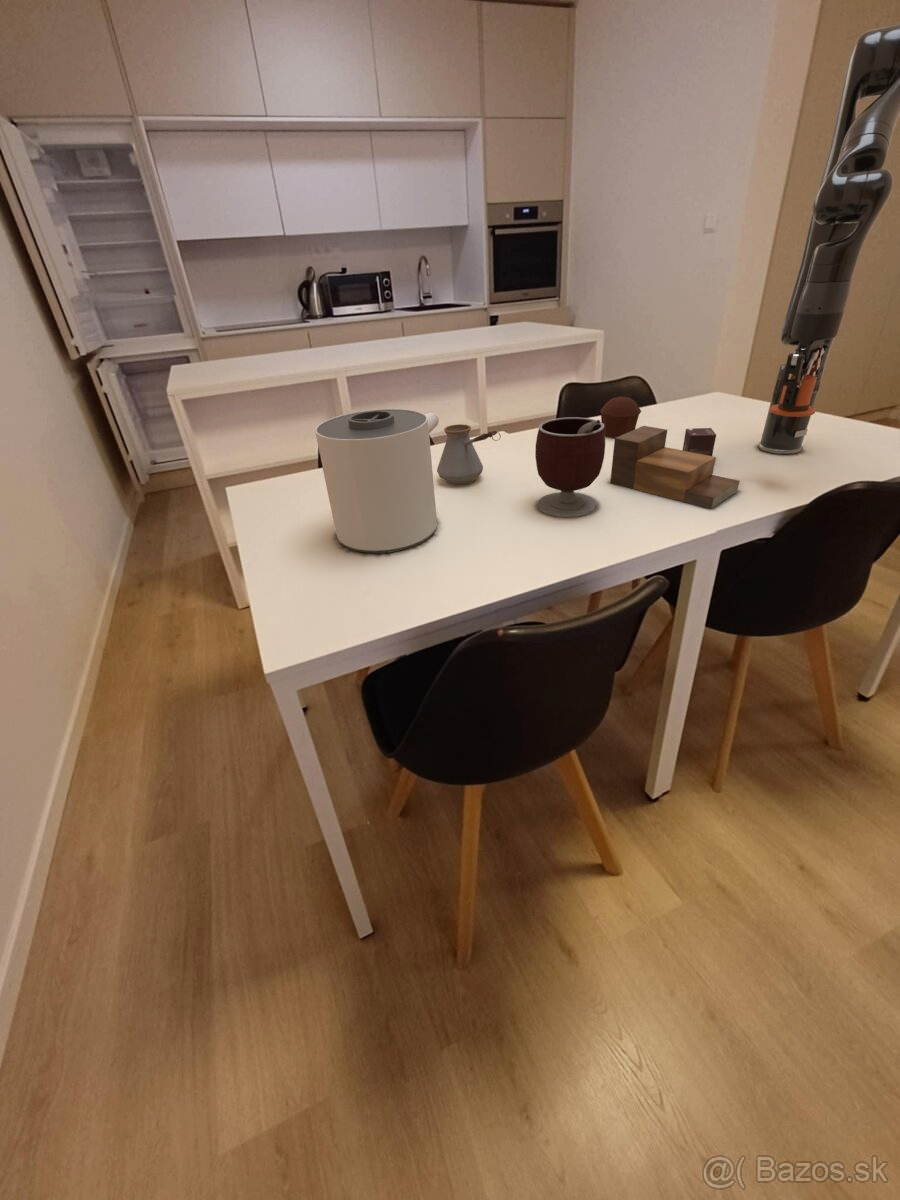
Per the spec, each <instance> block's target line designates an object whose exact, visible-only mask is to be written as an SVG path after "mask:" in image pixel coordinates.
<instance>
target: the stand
mask: <svg viewBox="0 0 900 1200" xmlns="http://www.w3.org/2000/svg"><path fill="white" fill-rule="evenodd" d="M667 435H668V429H666V428H659V427H654V426H649V425H642V426H639V427H637V428H635V430H633V431H630V432H628V433H626V434H623V435H621V436H619V437H616V438H614V441H613V450H612V451H613V452H612V462H611V471H610V479H609V480H610V482H609V483H610V484H613V485H616V486H617V485H618V486H621V487H624V488H629V489H633V490H637V491H640V492H644V493H648V494H652V495H655V496H660V497H663V498H667V499H672V500H675V501H678V502H683V503H687V504H690V505H694V506H698V507H702V508H706V509H709V510H712V509H714V508H715V507H717V506H718V505H720V504H721V503H723V502H724V501H725V500H727V499H728V498H730V497H732V496H733V495H735V494H736V493H737V492H738V491H739V487H740V482H741V480H739V479H734V478H729V477H725V476H720V475H716V474H713V473H714V470H715V469H714V468H715V464H716V459H717V457H716V456H713V455H712V456H708V455H703V454H698V453H693V452H687V451H682V450H683V449H677V448H671V447H666V443H667V442H666V441H667Z"/></svg>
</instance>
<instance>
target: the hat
mask: <svg viewBox="0 0 900 1200" xmlns="http://www.w3.org/2000/svg"><path fill="white" fill-rule="evenodd" d="M793 380H795V376H793ZM816 380H817V377H816V376H813V375H808V376H806V377H804V380H803V382H802V386H801V387H800V391H799V394H798V398H797V401H796V405H795V407H793V408H786V407H783V406H782V403H783V399H784V396H785V392H786V388H787V387H785V386H784V388H783V391H782V395H781V399H780V402H779V404H776V405H773V406H771V407H770V406H769V407H770V412H772V413H774V414H777V415H782V416H791V417H802V416H810V415H811V416H813V415H814V414H816V408H815V407H811V406H809V405H810V400H811V396H812V393H813V390H814V386H815V383H816Z"/></svg>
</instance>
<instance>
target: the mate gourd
mask: <svg viewBox="0 0 900 1200" xmlns="http://www.w3.org/2000/svg"><path fill="white" fill-rule="evenodd" d="M605 452H606V436H605V432H604V424H603V423H602V422H601V420H600V419H594V418H588V417H578V416H575V417H574V416H573V417H572V416H570V417H569V416H568V417H558V418H553V419H548V420H546V421H542V422H541V423H540V424H539V425H538V429H537V435H536V440H535V451H534V453H535V455H534V456H535V462H536V463H535V464H536V465H535V466H536V470H537V474H538V476H539V478H540V479H541V480H542V482H543V483H544V484H545V486H546V487H548V488H551V489H554V490H558V491H559V492H552V493H549V494H546V495H544V496H542V497H541V498H540V499H539V500H538V502H537V506H538V507H537V508H538V509H539V511H541V512H542V513H543V514H545V515H548V516H552V517H555V518H556V517H557V518H579V517H583V516H587V515H589V514H591V513H592V512H594V511H595V510H596V506H597V502H596V500H595V499H594V498H593V497H591V496H590V495H587V494H585V493H580V492H575V491H578V490H583V489H585V488H588V487H590V486H591V485H592V484H593V482H594V481H596V479H597V478H598V477H599V475H600V473H601V472H602V468H603V464H604V460H605Z"/></svg>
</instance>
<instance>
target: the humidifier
mask: <svg viewBox="0 0 900 1200" xmlns="http://www.w3.org/2000/svg"><path fill="white" fill-rule="evenodd" d="M439 422H440V420H439V417H438V415H437V414H436V413H434V412H428V413H426V414H425V413H423V412H421V411H418V410H414V409H413V410H412V409H407V408H406V409H405V408H379V409H378V408H377V409H367V410H361V411H355V412H350V413H343V414H340V415H338V416H334V417H332V418H328V419H326V420H324V421H322V422H320V423H319V424H318V425H317V426H316V427H315V429H314V433H315V438H316V442H317V448H318V453H319V457H320V462H321V467H322V472H323V475H324V476H323V477H324V481H325V485H326V492H327V495H328V501H329V505H330V510H331V515H332V519H333V525H334V529H335V535H336V538H337V540H338V542H339V543H340V544H341V545H342V546H343V547H345V548H347V549H349V550H352V551H355V552H358V553H366V554H387V553H394V552H401V551H405V550H407V549H410V548H413V547H415V546H419V545H421V544H422V543H424V542H426V541H427V540H429V538H431V537H432V536H433V535H434V534H435V533H436V530H437V527H438V518H437V517H438V516H437V507H436V506H437V505H436V494H435V484H434V473H433V462H432V461H433V460H432V452H431V451H432V449H431V440H430V439H431V437H430V433H432V431H433V430H434V429H435V428H436V427H437V426H438V425H439Z"/></svg>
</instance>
